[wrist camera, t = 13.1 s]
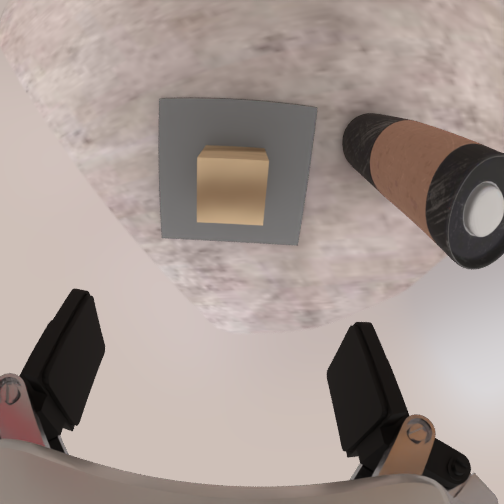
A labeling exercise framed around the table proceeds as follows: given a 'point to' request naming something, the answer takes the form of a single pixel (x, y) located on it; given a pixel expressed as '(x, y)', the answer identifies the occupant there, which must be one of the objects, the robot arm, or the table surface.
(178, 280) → the table surface
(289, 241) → the charcoal mat
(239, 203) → the oak block
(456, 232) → the travel mug
